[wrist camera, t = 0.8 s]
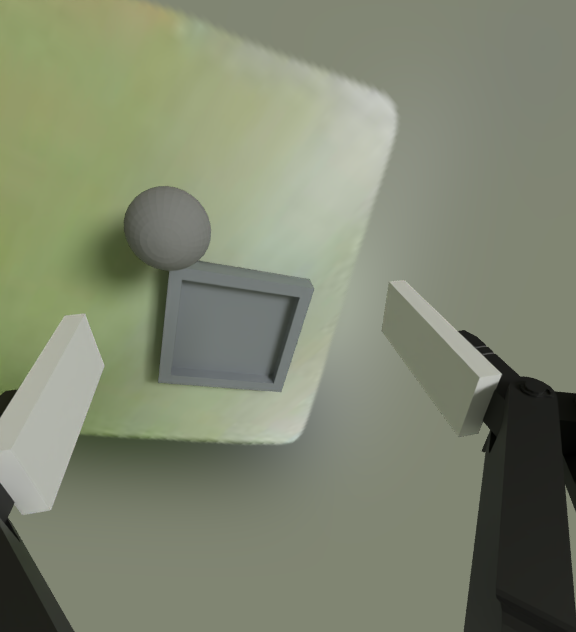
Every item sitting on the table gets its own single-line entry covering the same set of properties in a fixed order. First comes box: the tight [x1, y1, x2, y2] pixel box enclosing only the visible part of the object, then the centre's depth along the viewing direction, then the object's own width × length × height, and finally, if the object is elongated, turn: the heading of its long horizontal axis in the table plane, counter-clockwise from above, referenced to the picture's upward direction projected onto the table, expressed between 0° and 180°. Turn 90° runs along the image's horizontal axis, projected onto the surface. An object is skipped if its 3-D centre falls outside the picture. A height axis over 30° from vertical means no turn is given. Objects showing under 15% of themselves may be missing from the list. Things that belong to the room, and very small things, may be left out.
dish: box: [158, 261, 314, 392], centre depth 39 cm, size 14×14×2 cm
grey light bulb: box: [124, 186, 211, 271], centre depth 28 cm, size 6×6×10 cm
